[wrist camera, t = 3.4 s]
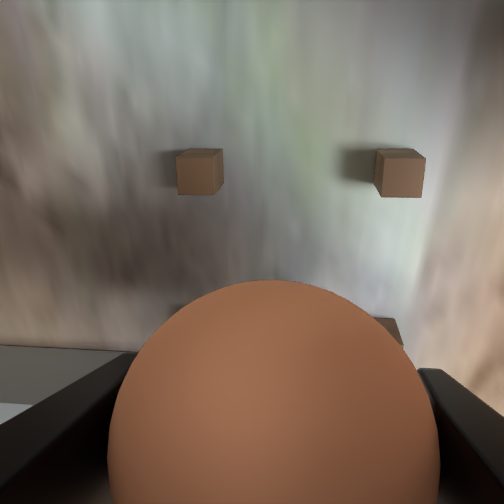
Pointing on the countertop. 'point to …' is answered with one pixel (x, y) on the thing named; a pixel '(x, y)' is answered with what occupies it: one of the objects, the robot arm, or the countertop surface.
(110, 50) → the countertop surface
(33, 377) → the grey shallow tray
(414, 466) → the ball
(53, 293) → the countertop surface
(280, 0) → the countertop surface
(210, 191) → the cradle
